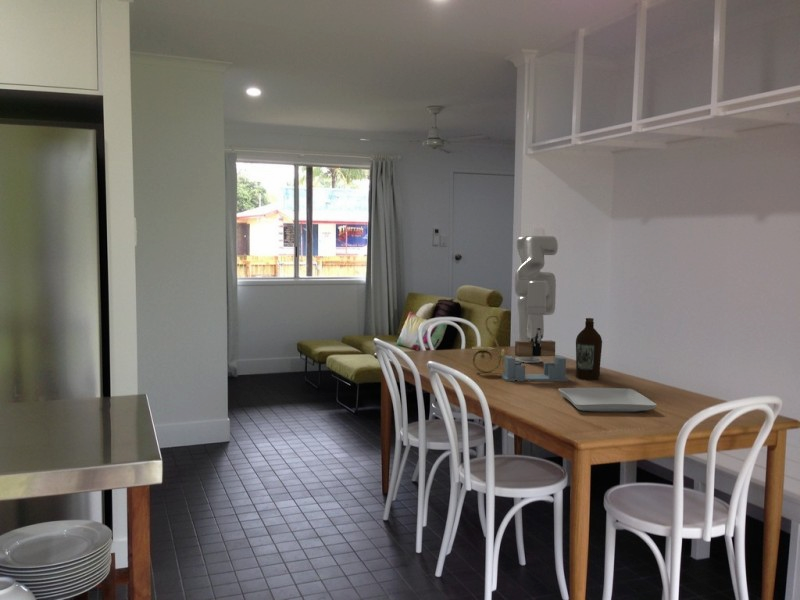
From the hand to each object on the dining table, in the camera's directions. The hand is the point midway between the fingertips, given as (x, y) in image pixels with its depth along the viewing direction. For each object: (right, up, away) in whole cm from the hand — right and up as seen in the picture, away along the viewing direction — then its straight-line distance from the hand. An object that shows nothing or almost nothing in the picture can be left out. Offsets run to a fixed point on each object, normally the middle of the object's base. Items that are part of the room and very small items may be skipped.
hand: (535, 354), depth 291 cm
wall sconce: (-18, -9, +14) cm, 24 cm away
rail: (0, 0, 0) cm, 1 cm away
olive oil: (+23, -10, +4) cm, 25 cm away
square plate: (+16, -15, -45) cm, 50 cm away
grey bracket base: (0, -10, +1) cm, 10 cm away
